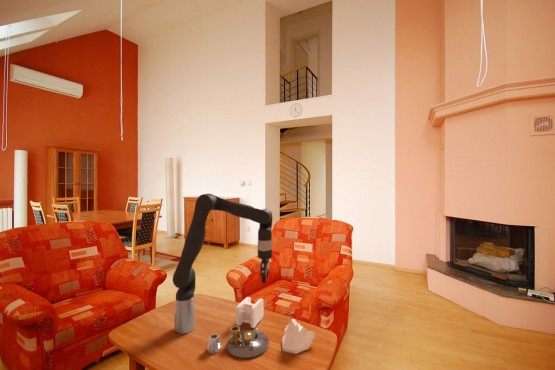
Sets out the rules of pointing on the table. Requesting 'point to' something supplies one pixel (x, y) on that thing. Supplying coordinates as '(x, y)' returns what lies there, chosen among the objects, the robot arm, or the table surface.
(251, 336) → the carrier
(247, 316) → the cable organizer
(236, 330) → the seated gear
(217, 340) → the gear
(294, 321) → the white faceted rock
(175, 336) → the table surface
